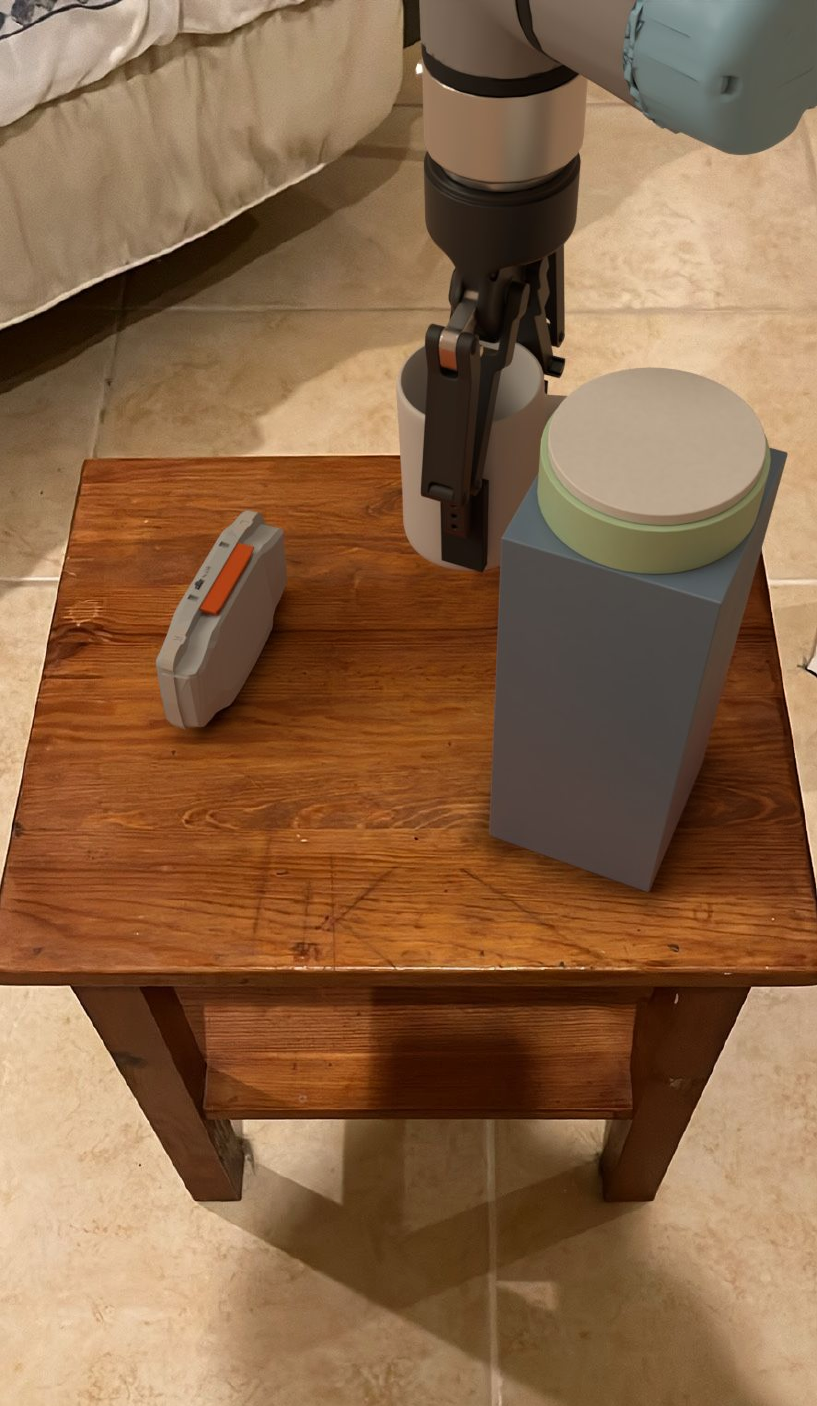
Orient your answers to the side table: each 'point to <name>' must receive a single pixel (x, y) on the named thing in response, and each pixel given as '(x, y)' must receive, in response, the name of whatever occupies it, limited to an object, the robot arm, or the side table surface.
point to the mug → (507, 454)
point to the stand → (608, 693)
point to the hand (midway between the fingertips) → (493, 512)
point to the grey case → (222, 622)
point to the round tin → (652, 470)
